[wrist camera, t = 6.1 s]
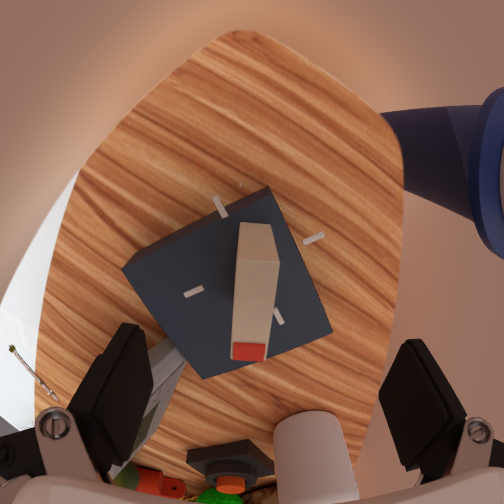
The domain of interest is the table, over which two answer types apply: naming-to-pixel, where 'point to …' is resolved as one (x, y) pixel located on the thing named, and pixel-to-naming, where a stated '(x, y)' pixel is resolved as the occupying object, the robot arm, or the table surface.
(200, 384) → the table surface
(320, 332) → the panel
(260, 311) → the knob
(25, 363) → the missile
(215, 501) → the ornament
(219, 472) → the button box
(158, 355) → the digital clock
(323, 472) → the pill bottle
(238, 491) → the button
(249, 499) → the decorative rock
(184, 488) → the bracket
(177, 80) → the table surface
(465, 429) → the robot arm
